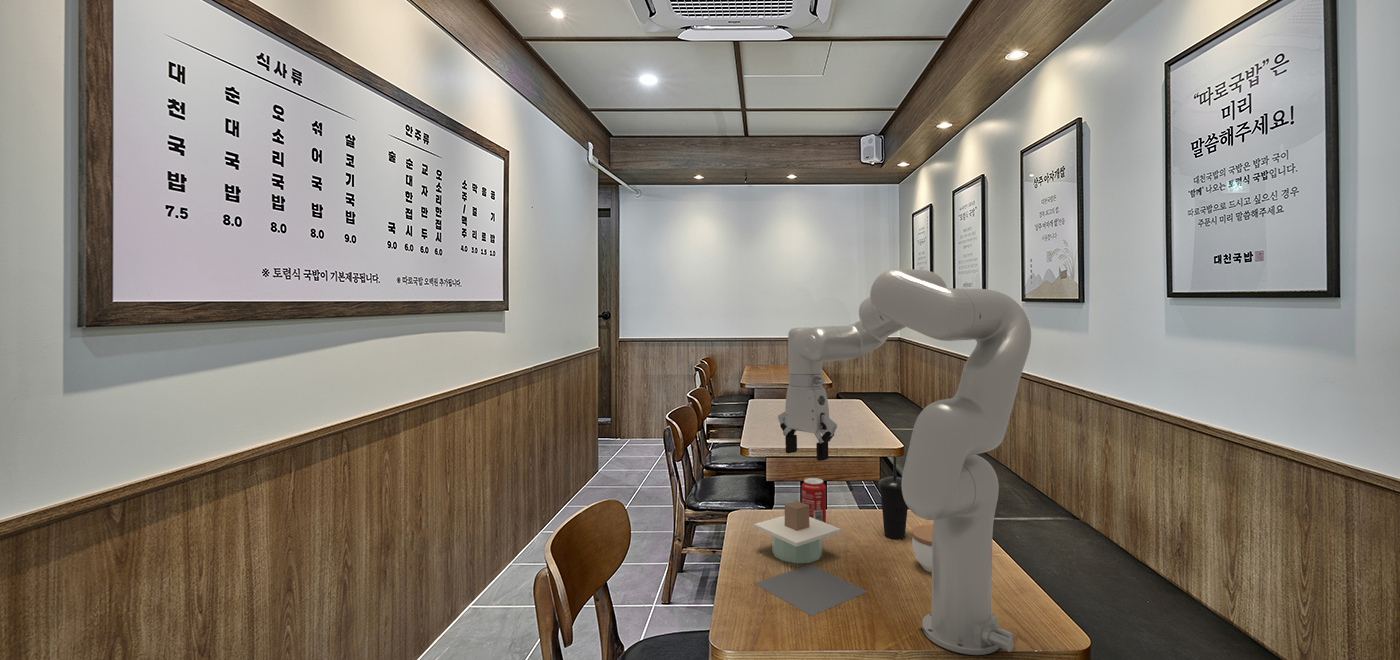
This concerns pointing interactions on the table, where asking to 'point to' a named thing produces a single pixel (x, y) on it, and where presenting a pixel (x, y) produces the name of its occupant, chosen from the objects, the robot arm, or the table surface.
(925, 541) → the lidded jar
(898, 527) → the drinking cup
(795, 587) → the mat
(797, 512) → the lid
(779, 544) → the bowl
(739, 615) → the table surface
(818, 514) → the beverage can
